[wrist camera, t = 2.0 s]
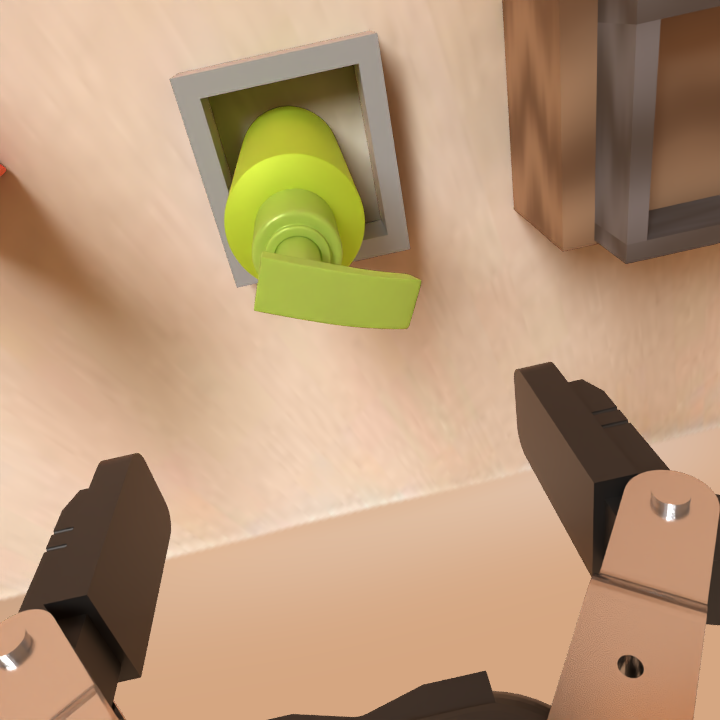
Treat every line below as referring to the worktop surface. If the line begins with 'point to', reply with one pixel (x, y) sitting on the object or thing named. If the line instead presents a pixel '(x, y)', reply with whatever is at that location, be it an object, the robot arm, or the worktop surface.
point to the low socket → (283, 66)
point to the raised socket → (616, 122)
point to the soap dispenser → (307, 228)
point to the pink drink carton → (2, 170)
